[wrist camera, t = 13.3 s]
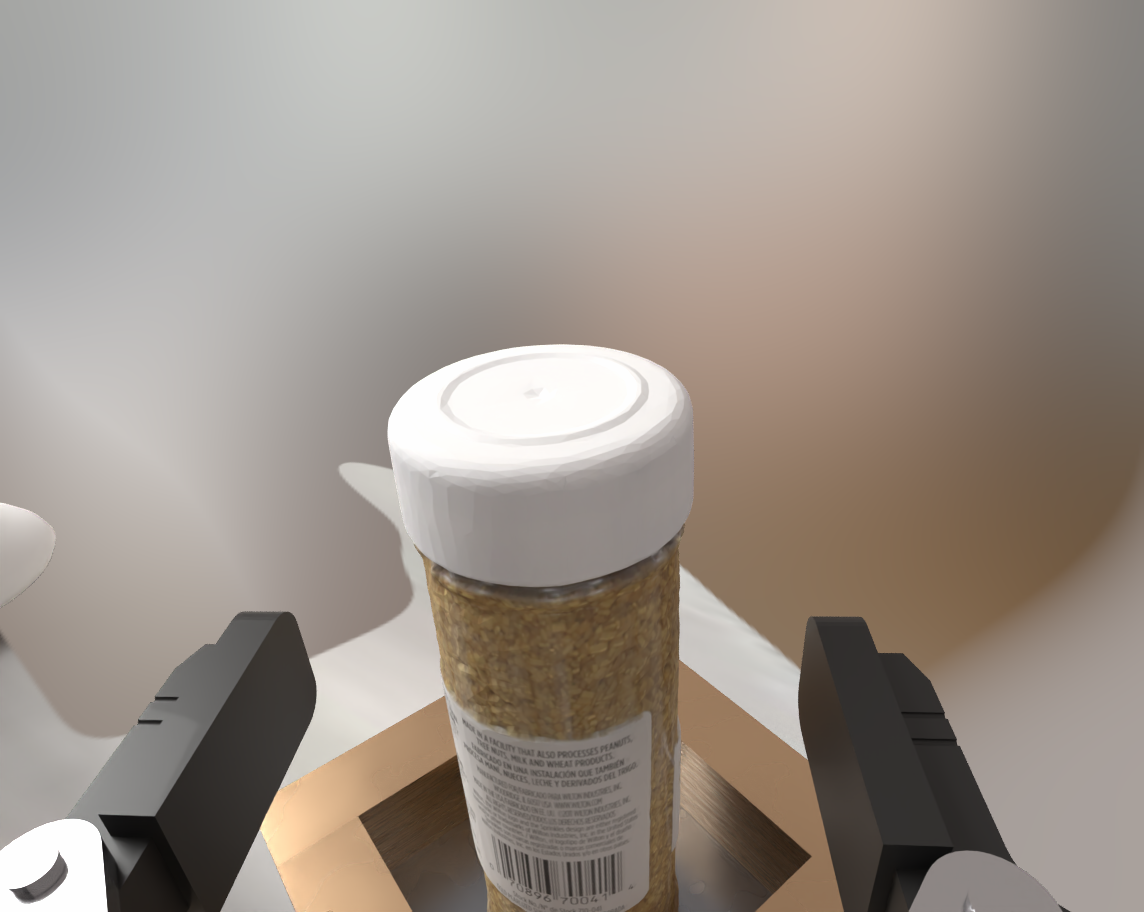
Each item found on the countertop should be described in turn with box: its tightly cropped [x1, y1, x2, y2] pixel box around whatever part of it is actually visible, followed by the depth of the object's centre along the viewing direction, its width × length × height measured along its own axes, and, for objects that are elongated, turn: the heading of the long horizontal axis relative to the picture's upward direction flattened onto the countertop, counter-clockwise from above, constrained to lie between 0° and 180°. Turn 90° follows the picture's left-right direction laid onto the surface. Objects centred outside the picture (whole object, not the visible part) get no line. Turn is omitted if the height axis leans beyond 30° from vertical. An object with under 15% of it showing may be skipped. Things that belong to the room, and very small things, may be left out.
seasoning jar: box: [388, 345, 694, 912], centre depth 14 cm, size 5×5×14 cm
